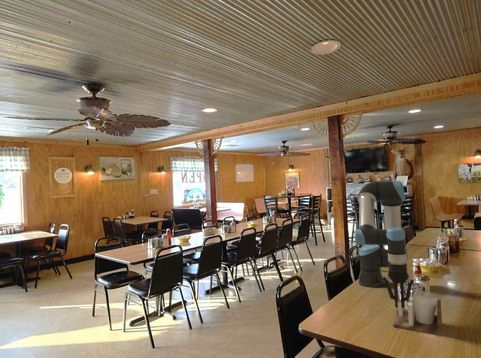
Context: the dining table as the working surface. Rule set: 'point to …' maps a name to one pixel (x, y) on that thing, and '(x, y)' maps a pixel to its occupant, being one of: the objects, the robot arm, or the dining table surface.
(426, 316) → the cup
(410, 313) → the divider
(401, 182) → the robot arm
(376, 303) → the dining table surface
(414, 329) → the rack
